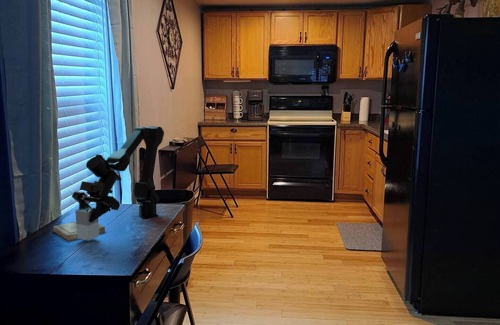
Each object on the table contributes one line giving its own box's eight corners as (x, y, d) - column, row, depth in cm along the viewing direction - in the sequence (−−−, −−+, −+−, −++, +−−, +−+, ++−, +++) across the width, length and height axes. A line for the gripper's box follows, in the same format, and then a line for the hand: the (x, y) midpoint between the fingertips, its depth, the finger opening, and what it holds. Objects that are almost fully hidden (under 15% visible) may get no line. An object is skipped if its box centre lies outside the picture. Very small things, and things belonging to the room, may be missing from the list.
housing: (88, 233, 153) (86, 205, 151) (99, 236, 150) (97, 207, 149) (77, 238, 148) (75, 209, 146) (88, 240, 146) (86, 211, 144)
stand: (89, 223, 169) (88, 217, 168) (105, 231, 159) (104, 225, 159) (53, 231, 159) (53, 225, 159) (68, 240, 149) (67, 234, 149)
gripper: (73, 169, 153) (50, 206, 145) (112, 174, 145) (90, 213, 137) (91, 186, 161) (70, 221, 153) (128, 191, 153) (108, 228, 145)
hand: (84, 220), depth 147 cm, fingers closed on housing, 5 cm apart
